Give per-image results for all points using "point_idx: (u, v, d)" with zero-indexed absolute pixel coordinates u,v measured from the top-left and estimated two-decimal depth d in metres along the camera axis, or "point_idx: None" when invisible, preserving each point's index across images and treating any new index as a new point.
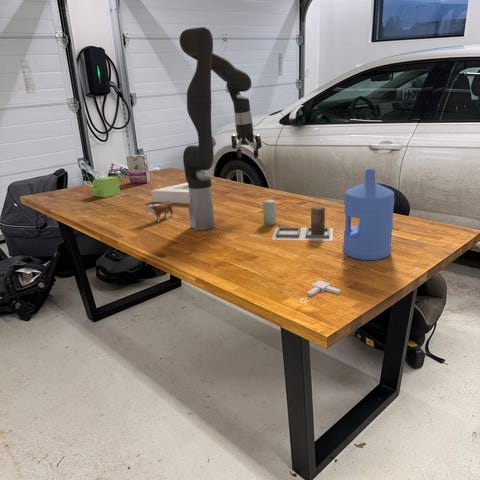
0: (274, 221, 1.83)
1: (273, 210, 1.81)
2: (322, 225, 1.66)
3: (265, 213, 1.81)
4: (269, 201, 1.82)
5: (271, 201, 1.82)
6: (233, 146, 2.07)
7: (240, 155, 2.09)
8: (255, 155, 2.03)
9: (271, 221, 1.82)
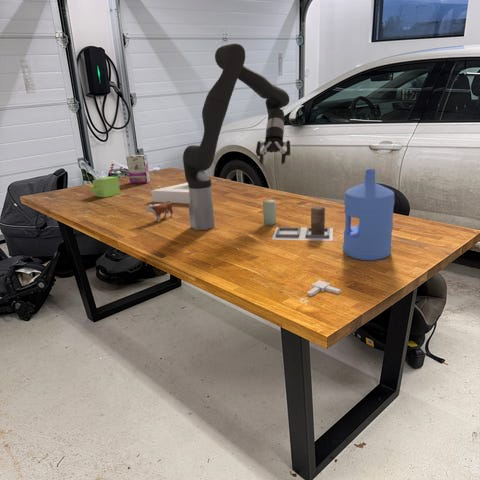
0: (274, 221, 1.83)
1: (273, 210, 1.81)
2: (322, 225, 1.66)
3: (265, 213, 1.81)
4: (269, 201, 1.82)
5: (271, 201, 1.82)
6: (257, 151, 1.90)
7: (262, 161, 1.89)
8: (283, 159, 1.87)
9: (271, 221, 1.82)
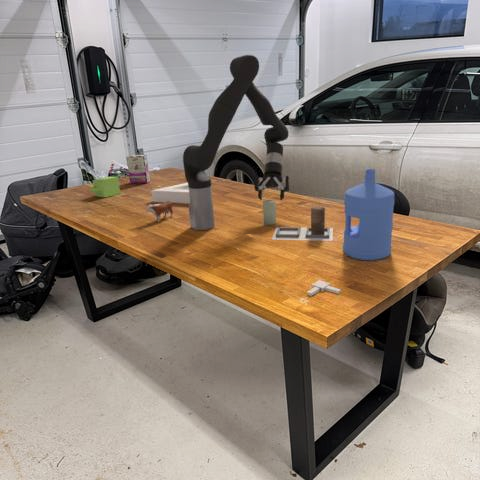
0: (274, 221, 1.83)
1: (273, 210, 1.81)
2: (322, 225, 1.66)
3: (265, 213, 1.81)
4: (269, 201, 1.82)
5: (271, 201, 1.82)
6: (256, 186, 1.89)
7: (261, 197, 1.87)
8: (281, 195, 1.85)
9: (271, 221, 1.82)
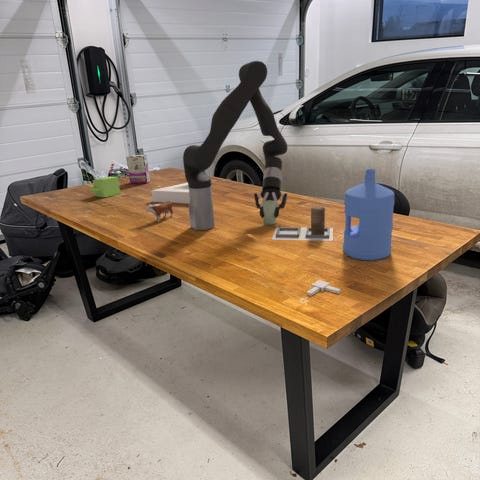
0: (274, 221, 1.83)
1: (273, 210, 1.81)
2: (322, 225, 1.66)
3: (265, 213, 1.81)
4: (269, 201, 1.82)
5: (271, 201, 1.82)
6: (257, 203, 1.84)
7: None
8: (276, 212, 1.81)
9: (271, 221, 1.82)
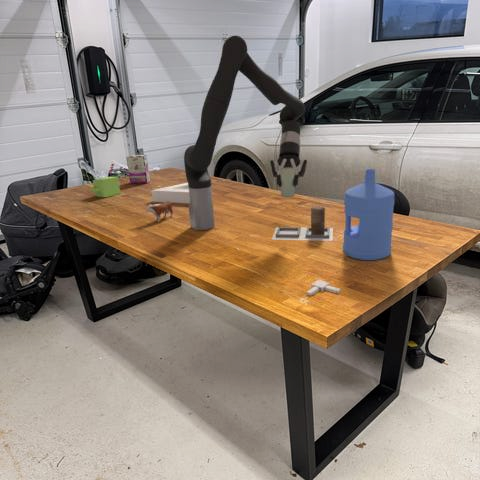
0: (293, 190, 1.64)
1: (292, 178, 1.62)
2: (322, 225, 1.66)
3: (283, 181, 1.63)
4: (287, 168, 1.63)
5: (289, 168, 1.63)
6: (274, 171, 1.66)
7: (280, 183, 1.64)
8: (295, 181, 1.63)
9: (290, 190, 1.64)
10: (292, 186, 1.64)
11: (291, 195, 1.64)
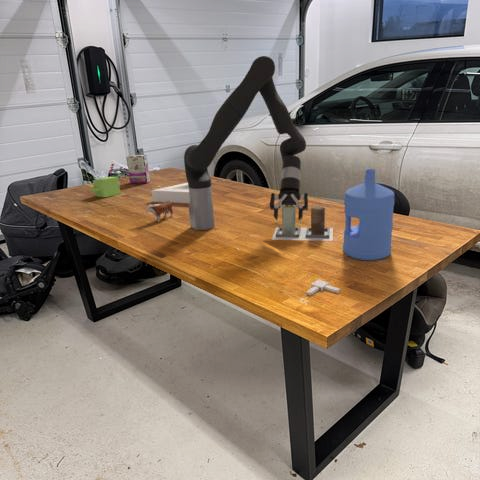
0: (293, 229, 1.70)
1: (293, 217, 1.68)
2: (322, 225, 1.66)
3: (284, 220, 1.68)
4: (289, 207, 1.69)
5: (291, 207, 1.69)
6: (271, 204, 1.71)
7: (277, 216, 1.70)
8: (300, 214, 1.67)
9: (291, 229, 1.69)
10: (293, 224, 1.69)
11: (292, 233, 1.70)
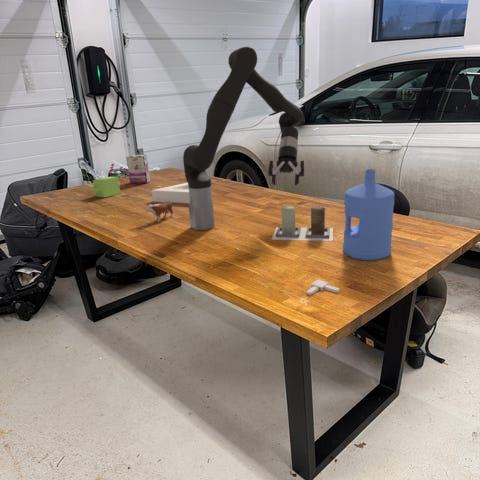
0: (293, 229, 1.70)
1: (292, 217, 1.68)
2: (322, 225, 1.66)
3: (284, 220, 1.68)
4: (288, 207, 1.69)
5: (290, 207, 1.68)
6: (270, 171, 1.82)
7: (275, 182, 1.81)
8: (296, 180, 1.78)
9: (291, 229, 1.69)
10: (293, 225, 1.69)
11: (292, 233, 1.70)
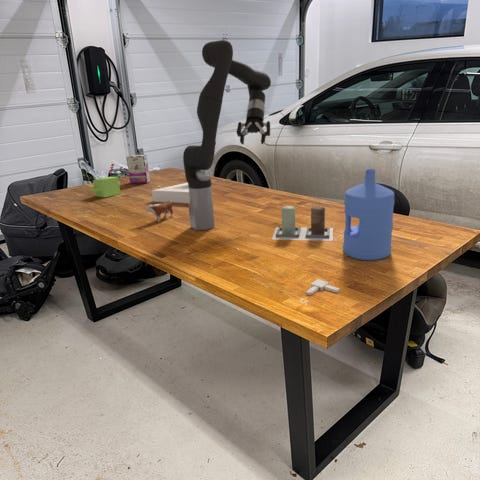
0: (293, 229, 1.70)
1: (292, 217, 1.68)
2: (322, 225, 1.66)
3: (284, 220, 1.68)
4: (288, 207, 1.69)
5: (290, 207, 1.68)
6: (238, 131, 1.94)
7: (243, 141, 1.93)
8: (262, 138, 1.91)
9: (291, 229, 1.69)
10: (293, 225, 1.69)
11: (292, 233, 1.70)
